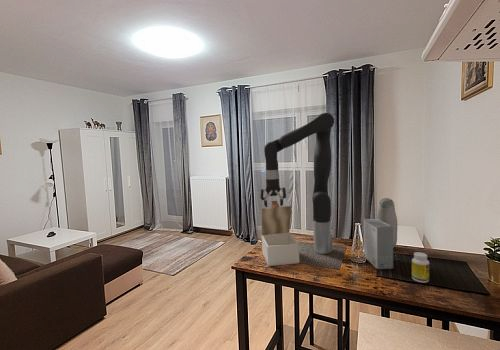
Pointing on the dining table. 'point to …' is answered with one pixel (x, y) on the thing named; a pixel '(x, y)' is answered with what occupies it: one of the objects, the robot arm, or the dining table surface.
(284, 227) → the flap
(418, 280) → the pill bottle
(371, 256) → the hard drive box
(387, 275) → the dining table surface
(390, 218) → the grey bottle
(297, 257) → the carton
